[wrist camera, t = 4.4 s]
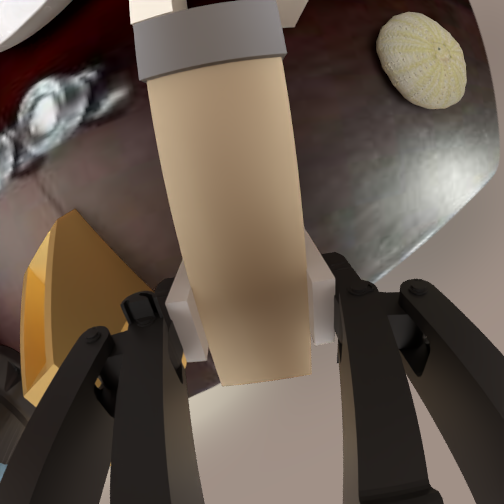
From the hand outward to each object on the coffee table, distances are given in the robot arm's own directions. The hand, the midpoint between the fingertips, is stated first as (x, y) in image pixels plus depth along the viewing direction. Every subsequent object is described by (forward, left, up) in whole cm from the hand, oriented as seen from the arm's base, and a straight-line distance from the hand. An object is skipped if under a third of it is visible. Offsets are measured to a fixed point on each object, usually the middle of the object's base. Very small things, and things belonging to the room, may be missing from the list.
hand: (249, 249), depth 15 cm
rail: (0, +3, 0) cm, 3 cm away
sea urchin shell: (+18, +9, -11) cm, 22 cm away
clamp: (-16, -8, -11) cm, 21 cm away
